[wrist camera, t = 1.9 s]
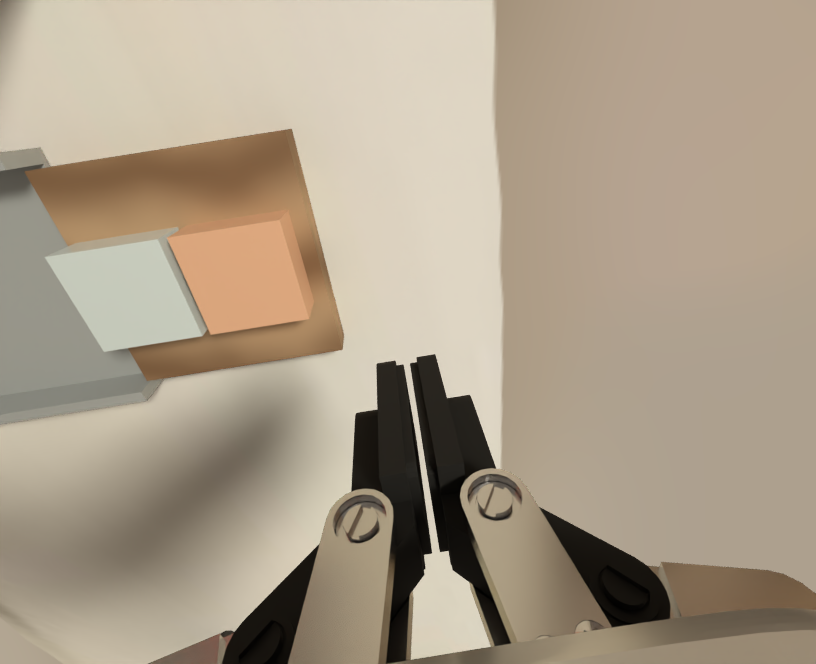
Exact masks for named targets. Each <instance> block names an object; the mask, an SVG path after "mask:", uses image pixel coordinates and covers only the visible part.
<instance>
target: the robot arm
mask: <svg viewBox="0 0 816 664" xmlns="http://www.w3.org/2000/svg"><path fill="white" fill-rule="evenodd" d="M410 366H411V372H412V379H413V385H414V392H415V398H416V405H417V411H418V417H419V424H420V430H421V437H422V443H423V450H424V456H425V462H426V469H427V475H428V481H429V487H430V493H431V500H432V506H433V512H434V518H435V524H436V530H437V537H438V543H439V549H440V552H444V551H449V556H450V562H451V565H452V569H453V570H454V571H455V572H456V573H458V574H459V575H460V576H462V577H463V578H464V579H466V580H467V581H469V583H470V588H471V591H472V594H473V597H474V600H475V603H476V606H477V608H478V611H479V614H480V617H481V620H482V622H483V625H484V628H485V631H486V634H487V637H488V639H489V642H490V645H491V647H487V648H481V649H475V650H469V651H463V652H457V653H450V654H444V655H438V656H432V657H426V658H420V659H414V660H411V639H412V618H413V589H414V588H415V587H416V585H417V584H418V582H419V581H420V580H421V578H422V577H423V576H424V569H425V561H424V555H425V554H431V553H432V549H431V542H430V535H429V527H428V520H427V513H426V506H425V498H424V491H423V484H422V477H421V470H420V462H419V455H418V448H417V441H416V435H415V429H414V423H413V417H412V411H411V405H410V400H409V394H408V388H407V382H406V376H405V370H404V365H397V366H396V361H390V362H384V363H378V364H377V405H378V410H372V411H366V412H360V413H356V416H355V433H354V452H353V472H352V492H350V493H348V494H345V495H344V496H343V497H341V498H340V499H339V500H338V501H337V502H336V503H335V504H334V505H333V507H332V508H331V509H330V511H329V514H328V516H327V518H326V522H325V525H324V529H323V533H322V537H321V541H320V544H319V545H318V546H317V547H316V548H315V549H314V550H313V551H312V552H311V553H310V554H309V555H308V556H307V557H306V558H305V559H304V560H303V561H302V562H301V563H300V564H299V565H298V566H297V567H296V568H295V569H294V570H293V571H292V572H291V573H290V574H289V575H288V576H287V577H286V578H285V579H284V580H283V581H282V582H281V583H280V584H279V585H278V586H277V587H276V589H275V590H274V591H273V592H272V593H271V594H270V595H269V596H268V597H267V598H266V599H265V600H264V601H263V602H262V603H261V604H260V605H259V606H258V607H257V608H256V609H255V610H254V611H253V612H252V613H251V614H250V615H249V616H248V617H247V618H246V619H245V620H244V621H243V622H242V623H241V625H240V626H239V627H238V628H237V630H236V631H235V632H234V633H233V634H231V635H228V636H226V637H224V638H223V637H222V636H221V635H220V634H218V635H215V636H213V637H211V638H208V639H206V640H204V641H201V642H199V643H196V644H194V645H192V646H189V647H187V648H184V649H182V650H180V651H177V652H175V653H173V654H170V655H168V656H165V657H163V658H161V659H158V660H156V661H154V662H151V663H149V664H816V593H815V592H813V591H812V590H810V589H809V588H808V587H806V586H805V585H804V584H803V583H801V582H799V581H797V580H795V579H793V578H791V577H789V576H787V575H785V574H782V573H777V572H773V571H769V570H760V569H747V568H734V567H720V566H708V565H695V564H683V563H669V562H661V564H660V566H659V567H657V566H647V565H645V564H644V563H642V562H641V561H639V560H638V559H636V558H635V557H633V556H631V555H629V554H627V553H625V552H624V551H622V550H619V549H618V548H616V547H614V546H612V545H610V544H608V543H606V542H605V541H603V540H601V539H599V538H597V537H595V536H593V535H591V534H589V533H587V532H585V531H584V530H582V529H580V528H578V527H576V526H574V525H572V524H570V523H569V522H567V521H564V520H563V519H561V518H559V517H557V516H555V515H553V514H551V513H549V512H548V511H546V510H544V509H542V508H540V507H539V506H538V505H537V503H536V501H535V500H534V498H533V496H532V495H531V493H530V492H529V490H528V488H527V486H526V485H525V484H524V483H523V482H522V481H521V479H520V478H518V477H517V476H515V475H514V474H512V473H510V472H508V471H505V470H502V469H496V467H495V464H494V461H493V458H492V456H491V453H490V450H489V447H488V444H487V441H486V438H485V436H484V433H483V430H482V427H481V424H480V421H479V418H478V416H477V413H476V410H475V407H474V404H473V401H472V399H471V396H470V395H466V396H459V397H453V398H447V397H446V393H445V389H444V386H443V382H442V378H441V374H440V371H439V367H438V363H437V359H436V356H435V354H434V355H428V356H422V357H417V362H416V363H410Z"/></svg>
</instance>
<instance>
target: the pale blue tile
mask: <svg viewBox="0 0 816 664" xmlns="http://www.w3.org/2000/svg"><path fill="white" fill-rule="evenodd" d="M178 230H179V229H178V227H174V228H168V229H162V230H155V231H149V232H143V233H136V234H130V235H124V236H117V237H111V238H105V239H98V240H92V241H86V242H79V243H75V244H72V245H70V246H68V247H66V248H64V249H61V250H59V251H57V252H55V253H53V254H50V255H48V256H46V257H45V259H46V260H47V262H48V263H49V265H50V267H51V268H52V270H53V271H54V273H55V275H56V276H57V278H58V279H59V281H60V283H61V284H62V286H63V287H64V289H65V291H66V292H67V294H68V295H69V297H70V299H71V300H72V302H73V303H74V305H75V307H76V308H77V310H78V311H79V313H80V315H81V316H82V318H83V319H84V321H85V323H86V324H87V326H88V327H89V329H90V331H91V332H92V334H93V335H94V337H95V338H96V340H97V342H98V343H99V345H100V346H101V348H102V350H103V351H104V352H106V351H113V350H119V349H125V348H132V347H138V346H144V345H150V344H157V343H163V342H169V341H175V340H182V339H188V338H194V337H200V336H203V335H204V334H205V332H206V331H207V329H208V328H207V325H206V323H205V321H204V319H203V317H202V314H201V312H200V310H199V308H198V305H197V303H196V301H195V299H194V297H193V294H192V292H191V290H190V288H189V286H188V283H187V281H186V279H185V277H184V274H183V272H182V270H181V268H180V266H179V263H178V261H177V259H176V257H175V255H174V252H173V250H172V248H171V246H170V243H169V241H168V239H167V237H169V236H171V235H172V234H174V233H175V232H177V231H178Z"/></svg>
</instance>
